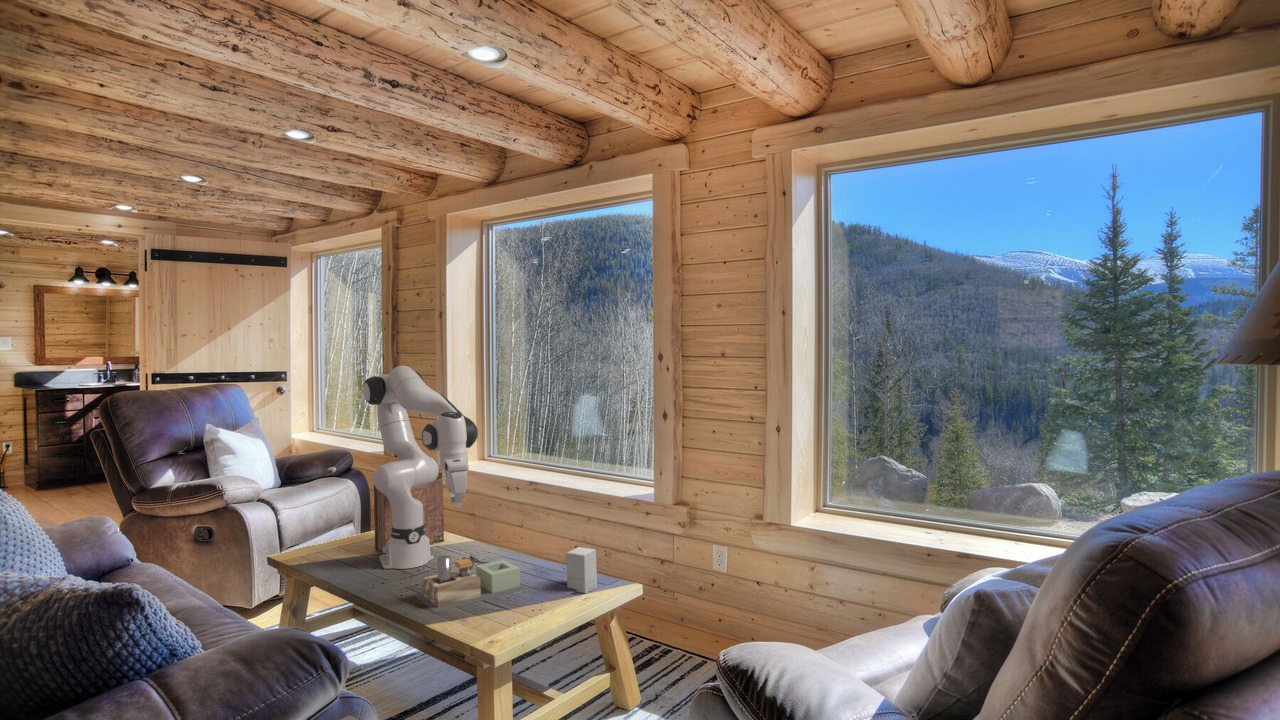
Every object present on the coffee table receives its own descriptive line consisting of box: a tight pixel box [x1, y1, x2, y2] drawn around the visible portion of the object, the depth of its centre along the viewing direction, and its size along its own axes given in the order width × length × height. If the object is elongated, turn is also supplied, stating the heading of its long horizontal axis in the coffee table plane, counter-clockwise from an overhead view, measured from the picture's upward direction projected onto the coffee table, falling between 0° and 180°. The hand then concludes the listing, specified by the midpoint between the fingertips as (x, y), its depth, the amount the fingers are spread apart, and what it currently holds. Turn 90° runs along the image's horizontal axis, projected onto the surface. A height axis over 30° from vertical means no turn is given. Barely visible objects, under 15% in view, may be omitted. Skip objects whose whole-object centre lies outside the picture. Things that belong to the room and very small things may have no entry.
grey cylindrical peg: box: [436, 555, 452, 584], centre depth 215 cm, size 4×4×12 cm
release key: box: [454, 557, 472, 577], centre depth 219 cm, size 4×4×6 cm
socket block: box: [423, 569, 481, 607], centre depth 217 cm, size 12×14×6 cm
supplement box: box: [565, 546, 598, 594], centre depth 224 cm, size 7×7×13 cm
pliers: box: [463, 555, 489, 571], centre depth 251 cm, size 10×1×20 cm
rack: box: [475, 559, 521, 593], centre depth 226 cm, size 12×10×6 cm
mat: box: [414, 583, 529, 613], centre depth 221 cm, size 19×31×1 cm, turn 128°
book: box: [373, 469, 445, 554], centre depth 276 cm, size 25×9×30 cm, turn 135°
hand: (455, 504), depth 220 cm, fingers open, 8 cm apart
